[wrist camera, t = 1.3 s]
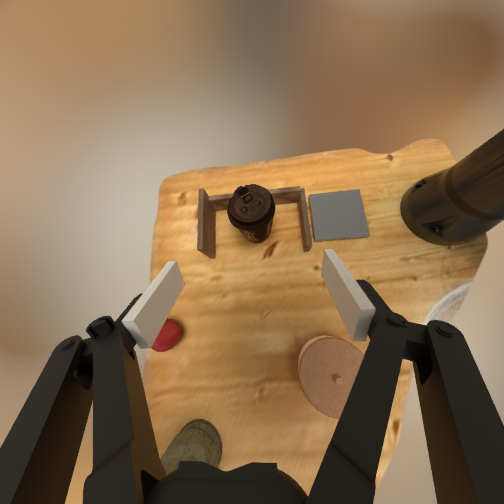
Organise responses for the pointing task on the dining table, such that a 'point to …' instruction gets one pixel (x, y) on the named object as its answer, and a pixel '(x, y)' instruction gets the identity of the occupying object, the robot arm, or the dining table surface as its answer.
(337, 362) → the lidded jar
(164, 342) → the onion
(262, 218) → the coffee cup
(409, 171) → the dining table surface
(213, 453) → the thermos
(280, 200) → the u-shaped wooden frame
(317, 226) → the slate pad
